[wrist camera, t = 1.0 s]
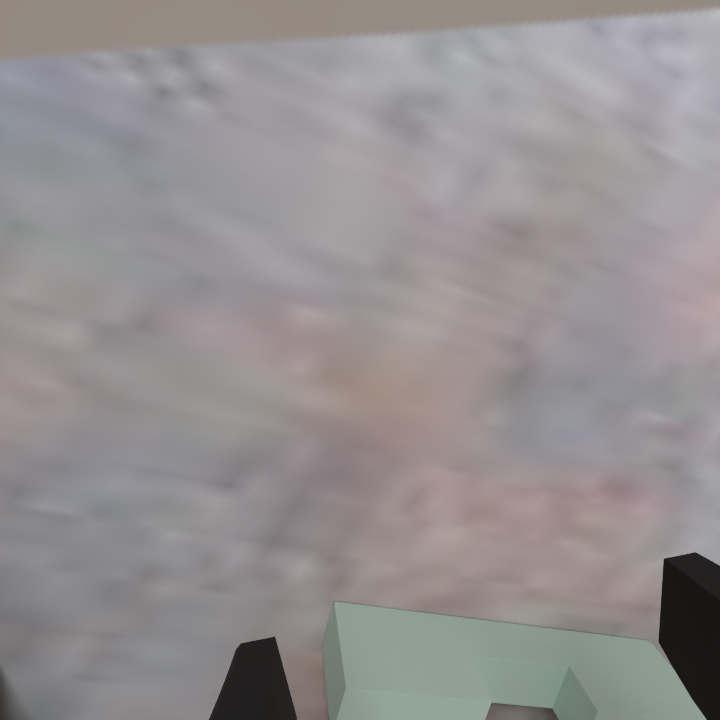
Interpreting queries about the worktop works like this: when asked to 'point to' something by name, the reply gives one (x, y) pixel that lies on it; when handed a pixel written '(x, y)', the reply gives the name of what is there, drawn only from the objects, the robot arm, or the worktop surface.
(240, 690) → the robot arm
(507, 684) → the notched rail
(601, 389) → the worktop surface
